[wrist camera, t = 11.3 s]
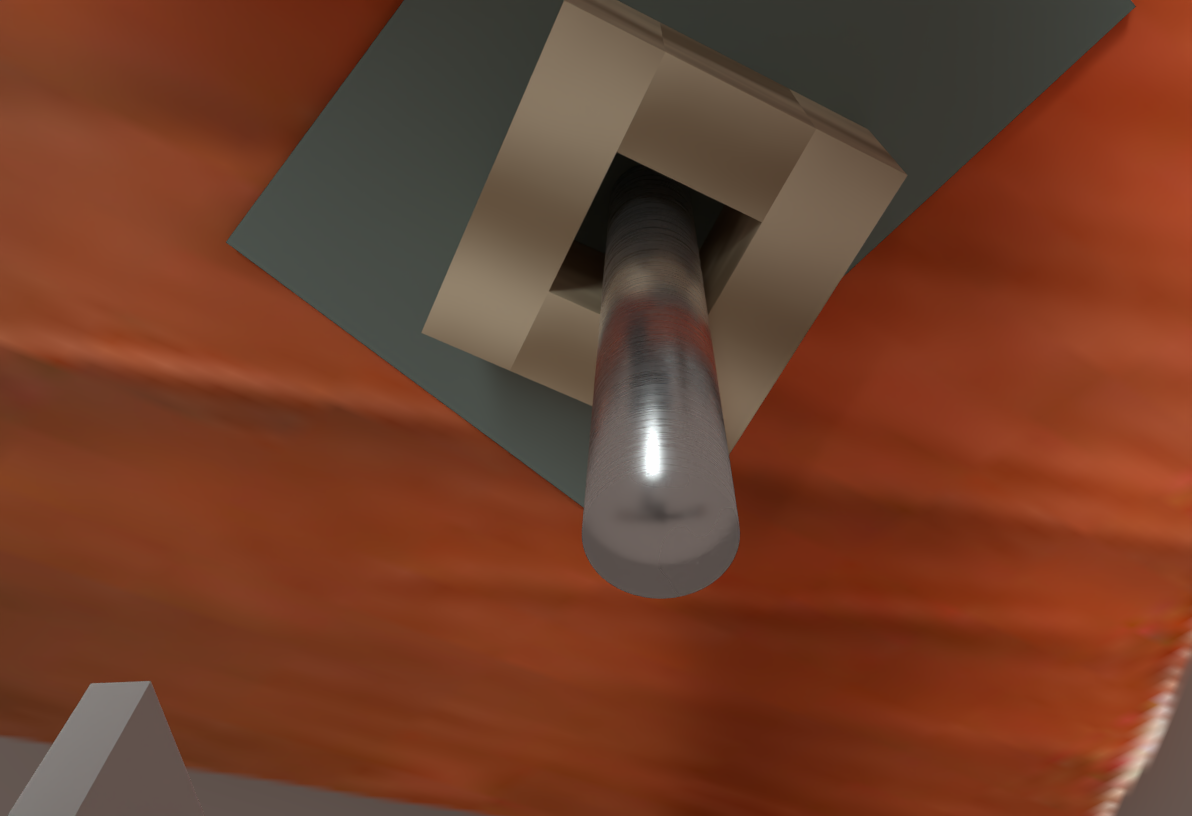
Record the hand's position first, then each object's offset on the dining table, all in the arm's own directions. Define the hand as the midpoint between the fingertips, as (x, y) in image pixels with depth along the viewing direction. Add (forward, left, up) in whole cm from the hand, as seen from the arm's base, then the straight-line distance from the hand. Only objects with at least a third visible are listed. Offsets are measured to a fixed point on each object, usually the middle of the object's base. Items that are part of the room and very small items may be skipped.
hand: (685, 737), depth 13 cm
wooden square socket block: (0, 0, -23) cm, 23 cm away
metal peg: (0, 0, -23) cm, 23 cm away
